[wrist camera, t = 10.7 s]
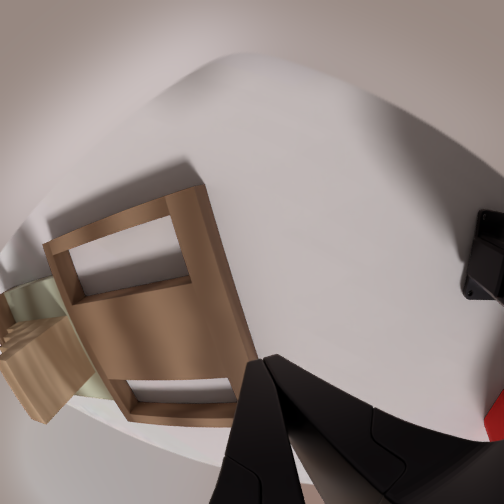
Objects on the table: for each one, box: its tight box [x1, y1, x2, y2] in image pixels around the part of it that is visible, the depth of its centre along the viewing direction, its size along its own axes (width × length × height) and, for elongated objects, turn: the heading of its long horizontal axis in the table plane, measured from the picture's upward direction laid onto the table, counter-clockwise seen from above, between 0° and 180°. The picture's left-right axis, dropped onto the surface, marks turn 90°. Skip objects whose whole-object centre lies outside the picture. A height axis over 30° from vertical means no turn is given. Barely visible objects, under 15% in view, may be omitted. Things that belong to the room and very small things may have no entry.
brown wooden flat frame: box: [0, 184, 258, 427], centre depth 22 cm, size 27×19×5 cm
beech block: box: [0, 316, 95, 424], centre depth 20 cm, size 10×6×8 cm, turn 106°
